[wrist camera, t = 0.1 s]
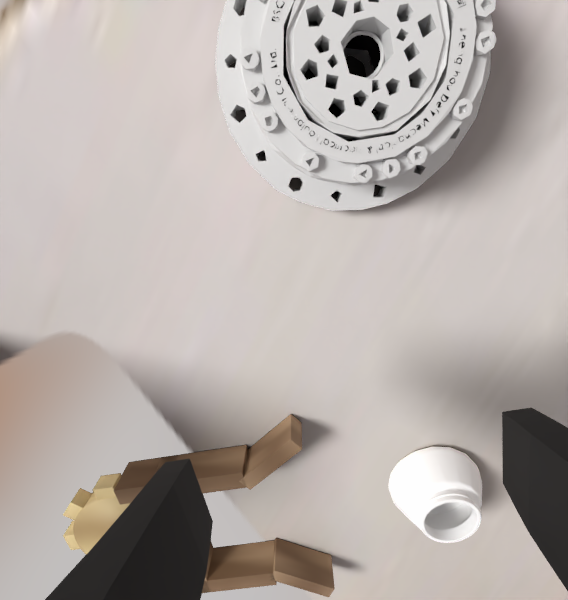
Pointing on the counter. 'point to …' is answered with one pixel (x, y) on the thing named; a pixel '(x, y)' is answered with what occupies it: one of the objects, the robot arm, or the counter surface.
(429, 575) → the counter surface
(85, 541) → the gear station
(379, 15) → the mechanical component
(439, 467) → the white jar
